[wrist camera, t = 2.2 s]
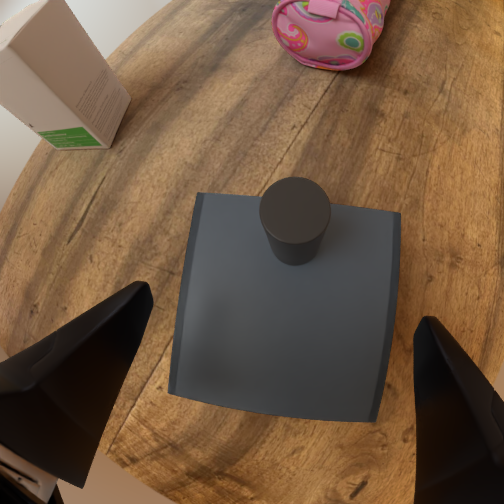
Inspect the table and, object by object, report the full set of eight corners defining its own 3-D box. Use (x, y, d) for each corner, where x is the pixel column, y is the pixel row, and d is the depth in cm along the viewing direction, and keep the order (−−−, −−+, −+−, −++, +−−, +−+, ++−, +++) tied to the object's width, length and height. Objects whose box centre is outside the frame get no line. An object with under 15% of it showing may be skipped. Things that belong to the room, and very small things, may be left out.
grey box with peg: (406, 465, 7) (440, 173, 8) (118, 422, 8) (160, 147, 10) (350, 387, 18) (368, 243, 20) (207, 368, 20) (227, 228, 21)
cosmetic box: (57, 151, 26) (-40, 78, 10) (80, 102, 27) (2, 21, 12) (113, 149, 24) (3, 46, 9) (137, 94, 25) (57, -15, 10)
